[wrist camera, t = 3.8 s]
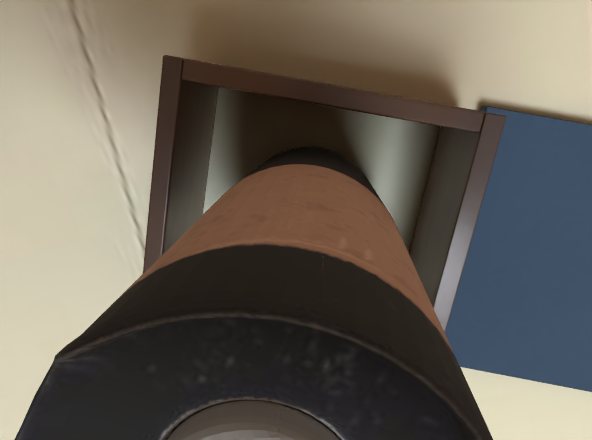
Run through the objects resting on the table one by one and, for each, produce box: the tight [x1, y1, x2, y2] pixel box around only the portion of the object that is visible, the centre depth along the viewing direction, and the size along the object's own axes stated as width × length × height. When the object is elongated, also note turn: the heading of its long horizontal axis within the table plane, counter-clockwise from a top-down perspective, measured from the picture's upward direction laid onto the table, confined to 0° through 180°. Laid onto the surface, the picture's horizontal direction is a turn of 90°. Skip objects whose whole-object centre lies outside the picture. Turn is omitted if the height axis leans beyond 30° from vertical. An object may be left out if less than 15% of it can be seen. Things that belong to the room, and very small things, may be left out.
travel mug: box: [15, 147, 493, 440], centre depth 16 cm, size 8×8×20 cm
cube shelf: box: [143, 55, 506, 333], centre depth 23 cm, size 13×13×6 cm
